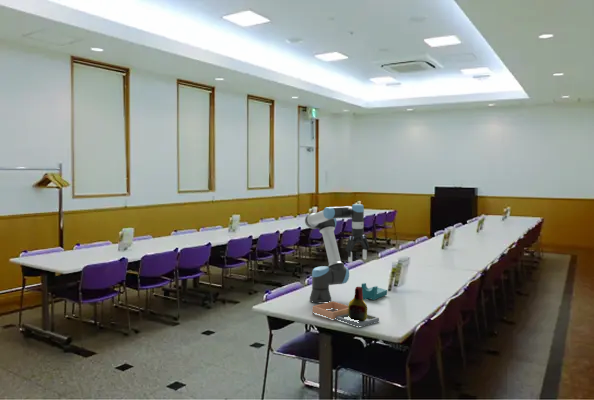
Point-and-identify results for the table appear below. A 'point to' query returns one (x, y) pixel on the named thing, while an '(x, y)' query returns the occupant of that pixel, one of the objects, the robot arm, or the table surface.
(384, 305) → the table surface
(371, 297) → the teal l-shaped bracket
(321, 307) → the holder
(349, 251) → the robot arm
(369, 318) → the tray
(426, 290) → the table surface
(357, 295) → the bottle
